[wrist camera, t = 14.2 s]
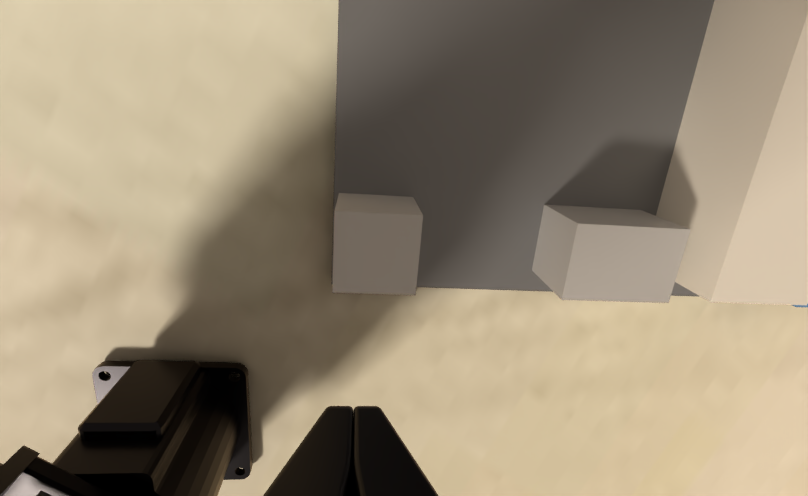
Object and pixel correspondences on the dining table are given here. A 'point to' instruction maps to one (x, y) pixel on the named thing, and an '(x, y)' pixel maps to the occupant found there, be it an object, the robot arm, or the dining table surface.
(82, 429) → the robot arm
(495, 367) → the dining table surface
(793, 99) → the long white plank
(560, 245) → the miniature block city
